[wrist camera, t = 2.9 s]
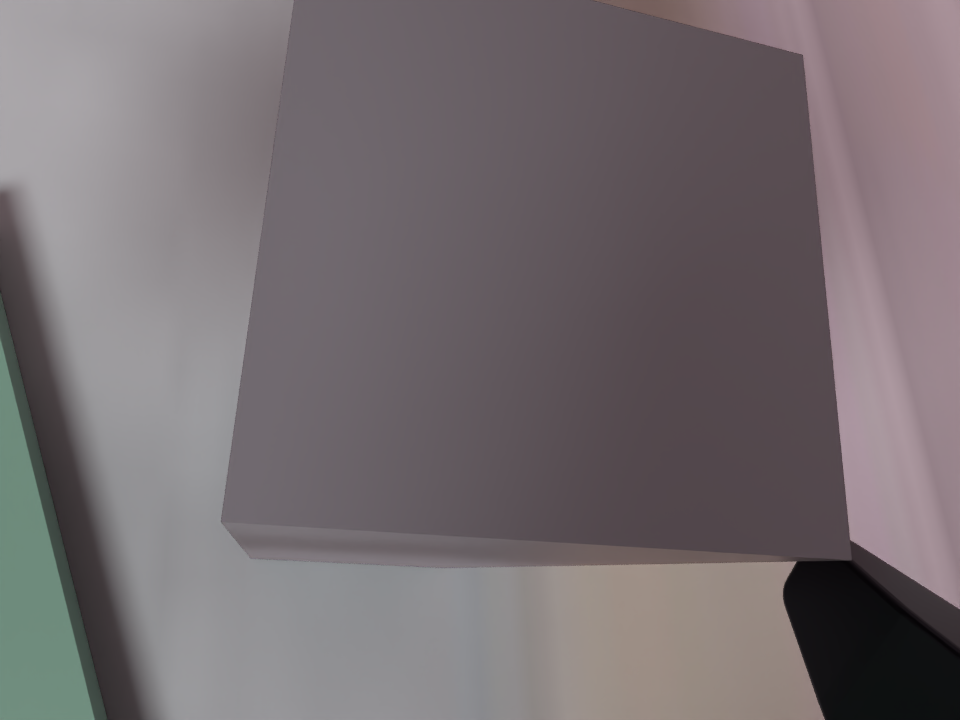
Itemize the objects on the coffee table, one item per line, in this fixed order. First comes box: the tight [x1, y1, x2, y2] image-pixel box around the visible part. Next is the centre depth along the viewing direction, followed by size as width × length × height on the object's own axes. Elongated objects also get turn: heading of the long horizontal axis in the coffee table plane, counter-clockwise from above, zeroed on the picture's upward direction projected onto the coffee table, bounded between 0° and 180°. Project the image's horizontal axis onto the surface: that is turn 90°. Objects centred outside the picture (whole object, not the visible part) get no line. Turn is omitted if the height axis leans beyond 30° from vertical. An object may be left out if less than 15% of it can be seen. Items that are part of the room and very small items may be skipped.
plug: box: [221, 0, 852, 568], centre depth 12 cm, size 5×4×13 cm
